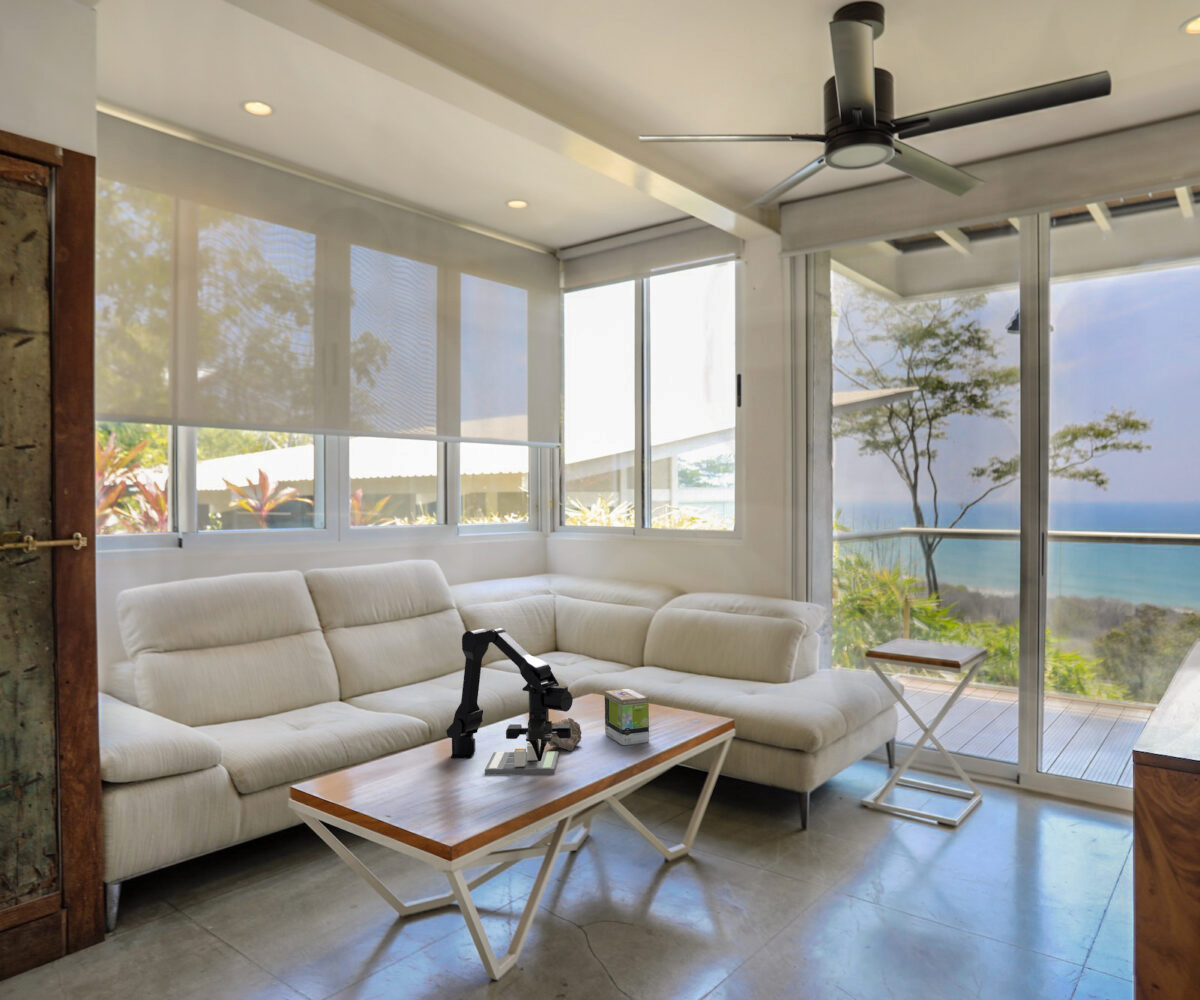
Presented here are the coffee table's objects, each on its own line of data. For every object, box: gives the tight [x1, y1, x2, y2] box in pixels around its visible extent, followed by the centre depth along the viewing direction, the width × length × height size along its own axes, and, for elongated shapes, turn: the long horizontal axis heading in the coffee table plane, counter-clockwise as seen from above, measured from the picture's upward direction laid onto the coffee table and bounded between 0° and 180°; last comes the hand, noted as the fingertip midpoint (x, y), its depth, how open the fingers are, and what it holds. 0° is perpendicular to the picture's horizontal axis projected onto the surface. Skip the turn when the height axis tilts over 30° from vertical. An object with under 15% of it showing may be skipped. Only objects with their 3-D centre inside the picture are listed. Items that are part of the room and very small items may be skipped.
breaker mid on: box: [526, 741, 538, 760], centre depth 244 cm, size 3×3×5 cm
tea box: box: [604, 688, 650, 746], centre depth 269 cm, size 15×10×15 cm
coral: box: [547, 717, 582, 752], centre depth 261 cm, size 14×9×10 cm, turn 141°
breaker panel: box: [484, 751, 560, 776], centre depth 244 cm, size 20×16×2 cm
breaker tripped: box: [513, 747, 527, 767], centre depth 238 cm, size 3×3×5 cm
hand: (539, 760), depth 238 cm, fingers closed
